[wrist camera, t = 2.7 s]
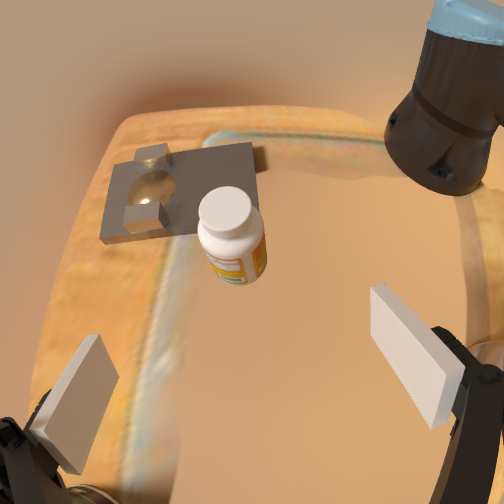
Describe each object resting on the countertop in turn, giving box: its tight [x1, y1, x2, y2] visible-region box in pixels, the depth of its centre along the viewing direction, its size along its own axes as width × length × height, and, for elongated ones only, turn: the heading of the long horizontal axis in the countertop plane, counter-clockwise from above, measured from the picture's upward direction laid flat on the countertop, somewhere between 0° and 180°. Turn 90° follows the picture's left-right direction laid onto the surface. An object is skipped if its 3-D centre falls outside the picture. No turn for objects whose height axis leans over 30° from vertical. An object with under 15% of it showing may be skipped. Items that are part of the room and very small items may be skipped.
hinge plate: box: [99, 142, 260, 245], centre depth 35 cm, size 18×11×4 cm, turn 95°
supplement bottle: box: [198, 186, 267, 286], centre depth 28 cm, size 5×5×10 cm
